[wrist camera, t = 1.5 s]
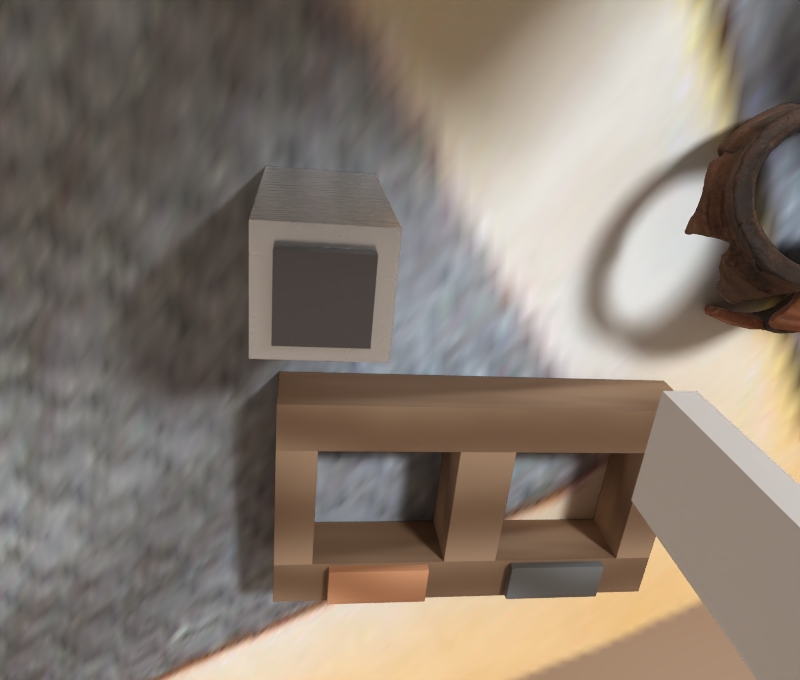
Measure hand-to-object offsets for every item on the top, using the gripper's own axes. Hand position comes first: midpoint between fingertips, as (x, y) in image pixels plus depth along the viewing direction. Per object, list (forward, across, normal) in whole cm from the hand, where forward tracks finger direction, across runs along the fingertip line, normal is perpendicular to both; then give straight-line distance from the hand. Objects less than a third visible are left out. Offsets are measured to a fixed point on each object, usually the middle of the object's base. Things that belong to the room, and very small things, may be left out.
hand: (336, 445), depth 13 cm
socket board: (+16, +8, -12) cm, 22 cm away
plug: (+16, 0, 0) cm, 16 cm away
